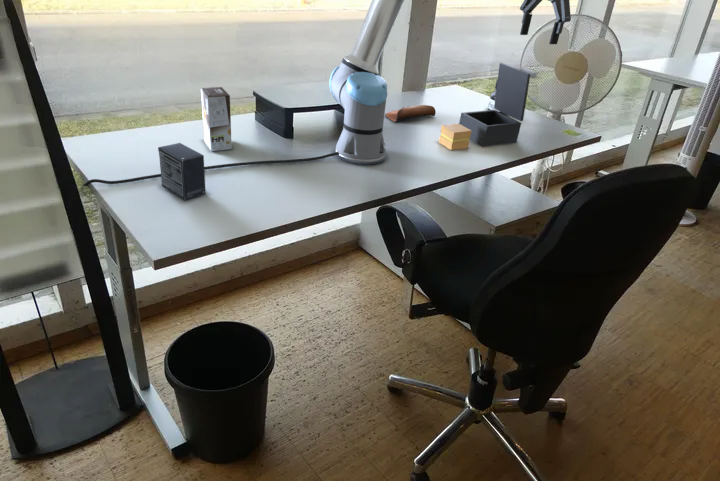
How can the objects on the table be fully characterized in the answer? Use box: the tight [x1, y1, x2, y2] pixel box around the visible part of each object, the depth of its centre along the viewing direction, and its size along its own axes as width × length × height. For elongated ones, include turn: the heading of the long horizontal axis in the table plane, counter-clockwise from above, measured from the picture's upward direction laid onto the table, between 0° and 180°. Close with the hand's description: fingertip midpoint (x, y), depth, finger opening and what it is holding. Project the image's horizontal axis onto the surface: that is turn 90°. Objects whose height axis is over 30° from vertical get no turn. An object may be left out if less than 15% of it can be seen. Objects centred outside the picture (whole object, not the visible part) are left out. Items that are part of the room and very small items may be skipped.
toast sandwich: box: [438, 123, 471, 151], centre depth 180 cm, size 7×7×6 cm
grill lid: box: [494, 62, 537, 122], centre depth 187 cm, size 16×14×8 cm
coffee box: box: [200, 86, 233, 152], centre depth 160 cm, size 9×6×16 cm
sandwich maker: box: [458, 109, 522, 147], centre depth 189 cm, size 15×14×7 cm
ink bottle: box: [487, 78, 508, 116], centre depth 215 cm, size 10×9×12 cm
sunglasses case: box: [384, 104, 437, 123], centre depth 201 cm, size 18×7×7 cm
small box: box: [157, 142, 207, 201], centre depth 134 cm, size 11×6×10 cm, turn 48°
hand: (537, 39), depth 180 cm, fingers open, 13 cm apart
